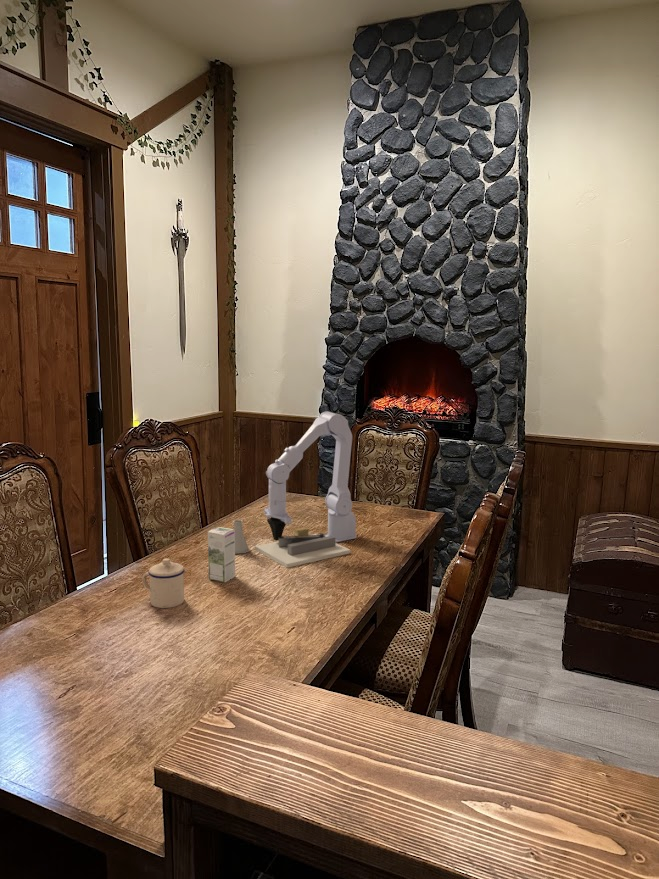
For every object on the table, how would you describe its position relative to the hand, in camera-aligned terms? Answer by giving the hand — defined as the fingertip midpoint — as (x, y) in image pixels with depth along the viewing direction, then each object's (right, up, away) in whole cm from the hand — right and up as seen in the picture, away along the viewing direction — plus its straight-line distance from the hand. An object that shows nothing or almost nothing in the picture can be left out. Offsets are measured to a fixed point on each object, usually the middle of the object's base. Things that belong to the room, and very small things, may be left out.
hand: (277, 539), depth 214 cm
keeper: (+8, -1, +1) cm, 8 cm away
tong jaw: (+8, -1, -2) cm, 9 cm away
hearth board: (+9, -3, -5) cm, 10 cm away
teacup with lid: (-26, -9, -45) cm, 53 cm away
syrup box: (-14, -7, -29) cm, 32 cm away
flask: (-12, -3, -5) cm, 14 cm away
